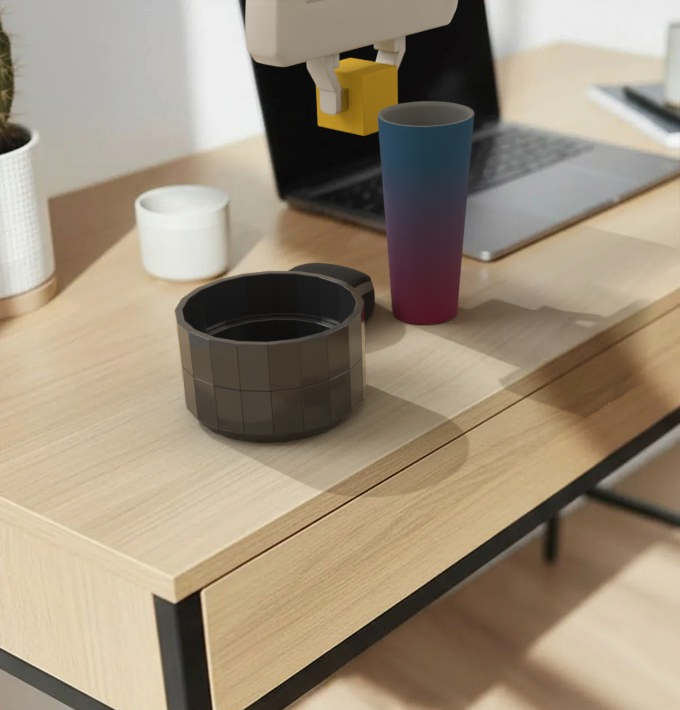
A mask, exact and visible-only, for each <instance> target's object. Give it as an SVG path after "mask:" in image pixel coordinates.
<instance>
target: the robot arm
mask: <svg viewBox="0 0 680 710" xmlns="http://www.w3.org/2000/svg"><path fill="white" fill-rule="evenodd" d="M458 2H459V0H245V15H244V16H245V17H244V18H245V19H244V20H245V21H244V22H245V23H244V25H245V26H244V27H245V29H244V30H245V46H246V50H247V52H248V53H249V54H250V56H251V58H252V59H253V60H254V61H255V62H256V63H259V64H262V65H267V66H273V67H280V68H286V67H287V68H288V67H290V66H295V65H298V64H302V63H306V69H307V71H308V73H309V75H310V76H311V78H312V80H313V81H314V84H315V87H316V86H317V88H318V89H319V93H320V108H321V111H322V112H323V113H326V114H330V115H336V114H339V113H342V112H345V111H347V110H348V108H349V101H348V99H349V92H348V88H343V87H341V86H340V83H339V81H338V78H337V76H336V73H335V71H334V69H336V68H339V61H340V54H341V53H344V52H349V51H352V50H355V49H359V48H363V47H368V46H371V45H373V49H374V50H377V55H376V59H375V62H378V63H384V64H390V65H396V66H397V71H398V70H399V68H400V66H401V63H402V61H403V58H404V55H405V53H406V37H407V36H409V35H414V34H418V33H421V32H424V31H429V30H432V29H437V28H440V27H443V26H447V25H449V24H450V23H451V21H452V19H453V18H454V15H455V13H456V10H457V8H458V4H459V3H458Z"/></svg>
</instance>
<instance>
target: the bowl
mask: <svg viewBox="0 0 680 710" xmlns="http://www.w3.org/2000/svg"><path fill="white" fill-rule="evenodd" d="M174 317H175V326H176V334H177V343H178V352H179V360H180V361H179V362H180V368H181V369H180V370H181V376H182V377H181V378H182V386H183V394H184V400H185V401H184V402H185V406H186V409H187V410H188V411H189V413H190V414H192V415H193V417H194V418H195V419H197V421H199V422H200V423H201V424H202V425H203V426H204V427H205V428H207V429H208V430H210V431H212V432H214V433H216V434H218V435H221V436H223V437H227V438H230V439H234V440H239V441H247V442H255V443H277V442H289V441H296V440H297V441H298V440H301V439H306V438H310V437H314V436H316V435H321V434H323V433H325V432H328V431H330V430H332V429H334V428H336V427H338V426H339V425H341V424H343V423H344V422H345V421H346V420H347V419H349V418H350V417H351V415H352V414H353V413H354V412H355V410H356V409H357V408H358V406H359V405H360V404H361V403H362V402H363V401H364V400H365V394H366V390H367V366H366V365H367V363H366V361H367V360H366V325H365V322H366V321H365V319H364V301H363V299H362V297H361V295H360V293H359V291H358V290H357V289H355V288H353V287H352V286H350V285H349V284H347V283H346V282H344V281H341V280H338V279H335V278H332V277H329V276H326V275H321V274H314V273H307V272H300V271H288V270H266V271H254V272H245V273H240V274H235V275H231V276H227V277H222V278H218V279H215V280H212V281H209V282H208V283H205V284H203V285H200V286H198V287H195V288H194V289H193V290H191V291H190V292H189V293H187V294H186V295H184V296H183V297H182V298H181V299H180V300H179V302H178V304H177V305H176V307H175V308H174Z"/></svg>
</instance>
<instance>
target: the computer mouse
mask: <svg viewBox="0 0 680 710" xmlns="http://www.w3.org/2000/svg"><path fill="white" fill-rule="evenodd" d="M287 271H300V272H307V273H314V274H321V275H326V276H329V277H332V278H335V279H338V280H341V281H344V282H346V283H347V284H349V285H350V286H352V287H353V288H355V289H357V290H358V291H359V293H360V295H361V297H362V299H363V301H364V319H365V322H366V321H367V320H368V319H369V317H370V316H371V315H372V314H373V311H374V309H375V305H376V293H375V287H374V284H373V281H372V278H371V276H370V275H368V274H367V273H365V272H363V271H360V270H358V269H355V268H352V267H348V266H344V265H340V264H334V263H327V262H308V263H302V264H298V265H295V266H293V267H292V268H290V269H288V270H287Z"/></svg>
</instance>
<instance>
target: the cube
mask: <svg viewBox="0 0 680 710" xmlns="http://www.w3.org/2000/svg"><path fill="white" fill-rule="evenodd" d="M334 71H335V73H336V76H337V78H338V81H339V83H340V86H341V87H343V88H348V92H349V99H348V101H349V108H348V110H347V111H345V112H342V113H339V114H336V115H330V114H326V113H323V112H322V111H321V108H320V93H319V89H318V88H317V86H316V85H315V91H316V93H315V94H316V109H317V110H316V115H317V126H318V127H322V128H326V129H330V130H335V131H339V132H344V133H348V134H353V135H354V134H355V135H358V136H363V137H366V136H368V135H371V134H374V133H377V132H379V128H378V113H379V112H380V111H381V110H382V109H384V108H386V107H389V106H393V105H397V104H399V100H398V99H399V97H398V96H399V95H398V94H399V92H398V90H399V87H398V85H399V84H398V83H399V82H398V81H399V79H398V70H397V66H396V65H390V64H384V63H378V62H376V61H373V60H366V59H365V60H364V59H359V58H354V57H348V58H343V59H341V60H340V59H339V68H336V69H334Z"/></svg>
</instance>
